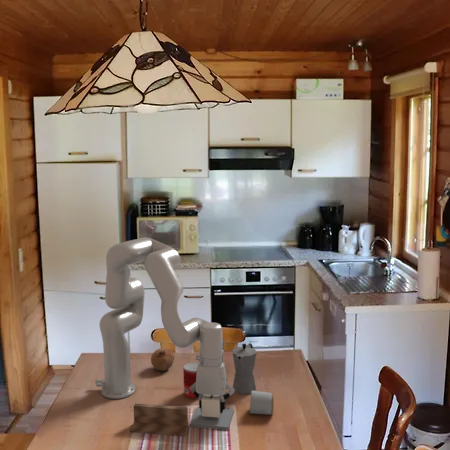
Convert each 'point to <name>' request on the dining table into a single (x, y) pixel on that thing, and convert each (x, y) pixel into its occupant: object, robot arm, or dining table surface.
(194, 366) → the canned food
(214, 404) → the marked cube
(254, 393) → the ceramic mug
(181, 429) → the walnut screen
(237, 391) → the coffeepot
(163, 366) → the onion
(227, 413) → the slate mat
